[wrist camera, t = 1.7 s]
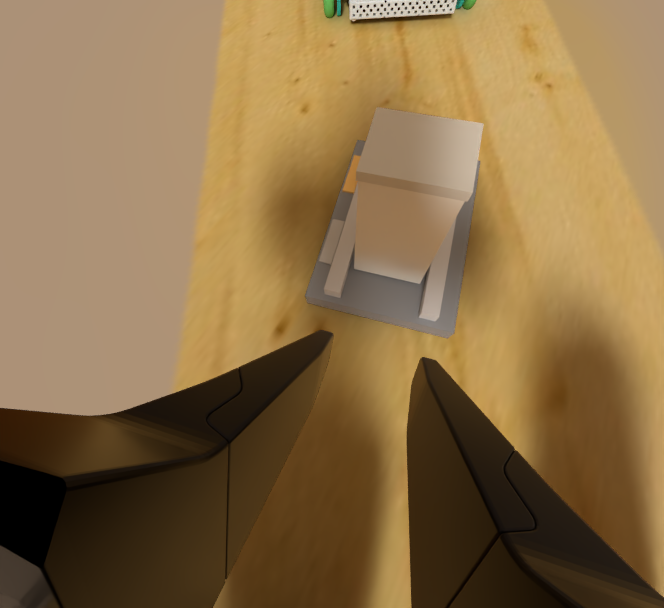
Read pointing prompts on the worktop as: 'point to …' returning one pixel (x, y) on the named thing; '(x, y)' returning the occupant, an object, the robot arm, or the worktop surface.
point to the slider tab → (411, 189)
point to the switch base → (381, 291)
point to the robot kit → (395, 8)
